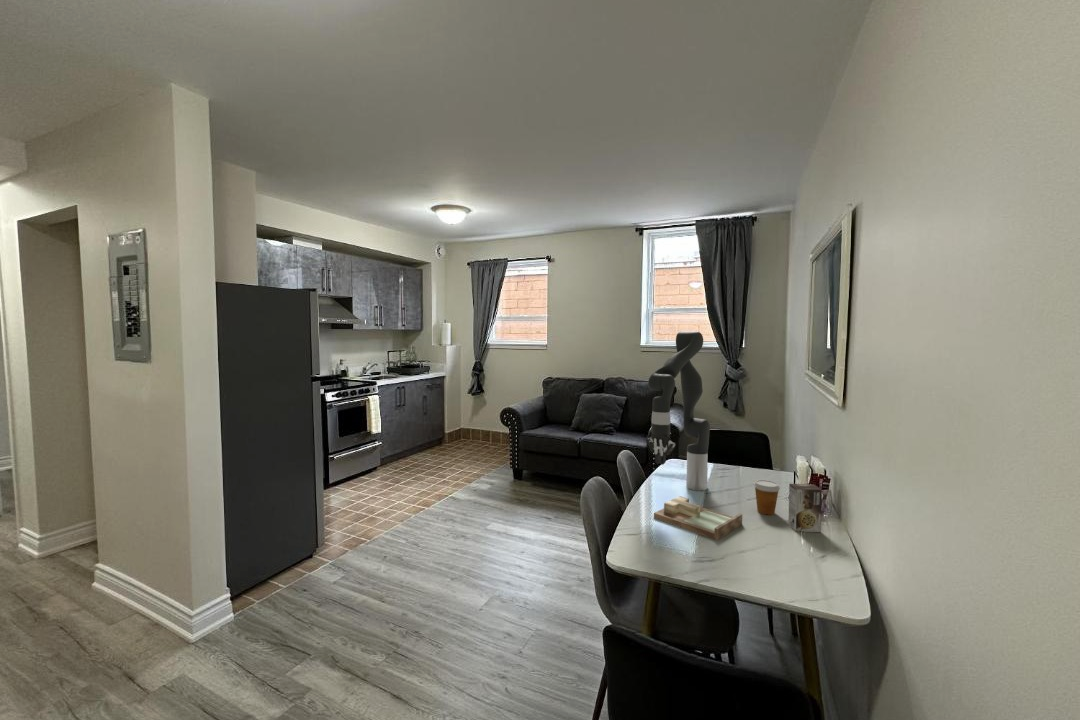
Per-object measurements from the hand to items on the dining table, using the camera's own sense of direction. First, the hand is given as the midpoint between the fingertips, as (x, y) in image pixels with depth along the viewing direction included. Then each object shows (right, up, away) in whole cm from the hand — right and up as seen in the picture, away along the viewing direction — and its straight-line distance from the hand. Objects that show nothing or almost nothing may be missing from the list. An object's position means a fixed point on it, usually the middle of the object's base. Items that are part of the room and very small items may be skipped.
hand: (660, 463), depth 185 cm
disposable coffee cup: (+43, -20, -2) cm, 47 cm away
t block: (+8, -17, -8) cm, 21 cm away
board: (+11, -20, -12) cm, 26 cm away
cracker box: (+49, -20, -18) cm, 56 cm away
